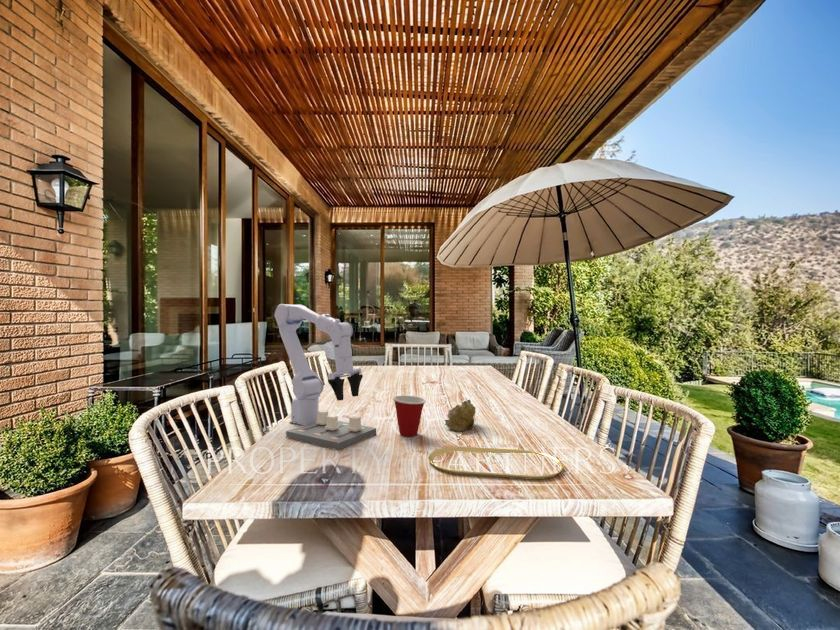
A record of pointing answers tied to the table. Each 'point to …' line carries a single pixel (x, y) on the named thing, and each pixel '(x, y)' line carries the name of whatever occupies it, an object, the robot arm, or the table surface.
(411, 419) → the plastic cup
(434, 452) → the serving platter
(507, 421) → the table surface
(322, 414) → the left switch
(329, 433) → the switch panel
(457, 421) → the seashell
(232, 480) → the table surface
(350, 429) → the right switch
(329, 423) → the switch
